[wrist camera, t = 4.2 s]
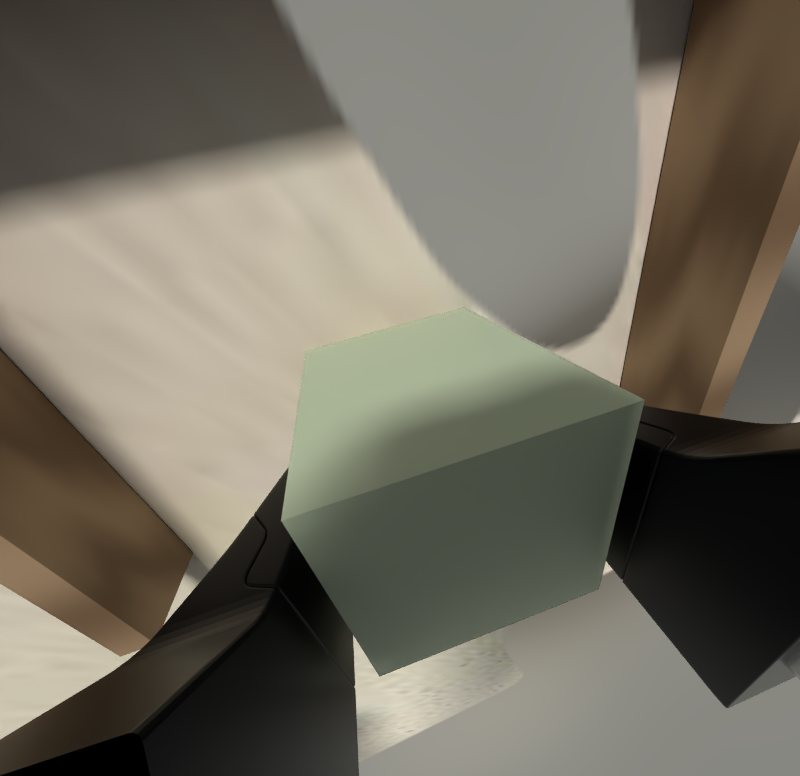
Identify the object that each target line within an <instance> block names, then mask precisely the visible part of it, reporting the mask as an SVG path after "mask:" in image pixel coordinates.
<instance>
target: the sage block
mask: <svg viewBox="0 0 800 776" xmlns="http://www.w3.org/2000/svg"><path fill="white" fill-rule="evenodd" d="M644 401H645V400H644V399H642V398H640V397H638V396H636V395H634V394H633V393H631V392H629V391H627V390H625V389H623V388H621V387H619V386H617V385H615V384H613V383H611V382H609V381H607V380H605V379H603V378H601V377H599V376H597V375H595V374H594V373H592V372H590V371H588V370H586V369H584V368H582V367H580V366H578V365H576V364H574V363H572V362H570V361H568V360H566V359H564V358H562V357H560V356H558V355H556V354H555V353H553V352H551V351H549V350H547V349H545V348H543V347H541V346H539V345H537V344H535V343H533V342H531V341H529V340H527V339H525V338H523V337H521V336H519V335H517V334H515V333H514V332H512V331H510V330H508V329H506V328H504V327H502V326H500V325H498V324H496V323H494V322H492V321H490V320H488V319H486V318H484V317H482V316H480V315H478V314H476V313H475V312H473V311H471V310H469V309H467V308H465V307H463V308H459V309H455V310H452V311H448V312H445V313H441V314H437V315H434V316H430V317H427V318H423V319H419V320H416V321H412V322H409V323H405V324H401V325H398V326H394V327H390V328H387V329H383V330H380V331H376V332H372V333H369V334H365V335H362V336H358V337H354V338H351V339H347V340H343V341H340V342H336V343H333V344H329V345H325V346H322V347H318V348H315V349H311V350H307V351H306V353H305V360H304V367H303V374H302V381H301V388H300V394H299V401H298V408H297V415H296V422H295V429H294V435H293V442H292V449H291V456H290V463H289V470H288V476H287V483H286V490H285V497H284V504H283V511H282V517H281V521H282V523H283V524H284V526H285V528H286V529H287V531H288V532H289V534H290V536H291V537H292V539H293V540H294V542H295V543H296V545H297V547H298V548H299V550H300V551H301V553H302V555H303V556H304V558H305V559H306V561H307V562H308V564H309V566H310V567H311V569H312V570H313V572H314V574H315V575H316V577H317V578H318V580H319V581H320V583H321V585H322V586H323V588H324V589H325V591H326V593H327V594H328V596H329V597H330V599H331V600H332V602H333V604H334V605H335V607H336V608H337V610H338V611H339V613H340V615H341V616H342V618H343V619H344V621H345V623H346V624H347V626H348V627H349V629H350V630H351V632H352V634H353V635H354V637H355V638H356V640H357V642H358V643H359V645H360V646H361V648H362V649H363V651H364V653H365V654H366V656H367V657H368V659H369V661H370V662H371V664H372V665H373V667H374V668H375V670H376V672H377V673H378V675H379V676H382V675H385V674H387V673H390V672H392V671H395V670H397V669H400V668H402V667H405V666H407V665H410V664H412V663H415V662H417V661H420V660H422V659H425V658H427V657H430V656H432V655H435V654H437V653H440V652H442V651H445V650H447V649H450V648H452V647H455V646H457V645H460V644H462V643H465V642H467V641H470V640H472V639H475V638H477V637H480V636H482V635H485V634H487V633H490V632H492V631H495V630H497V629H500V628H502V627H505V626H508V625H510V624H513V623H515V622H518V621H520V620H523V619H525V618H528V617H530V616H532V615H535V614H538V613H540V612H543V611H545V610H547V609H550V608H553V607H555V606H558V605H560V604H563V603H565V602H568V601H570V600H573V599H575V598H578V597H580V596H583V595H585V594H588V593H590V592H593V591H595V590H598V589H599V587H600V582H601V578H602V574H603V570H604V566H605V562H606V558H607V554H608V549H609V545H610V541H611V537H612V533H613V529H614V525H615V521H616V516H617V512H618V508H619V504H620V500H621V496H622V492H623V488H624V483H625V479H626V475H627V471H628V467H629V463H630V459H631V455H632V450H633V446H634V442H635V438H636V434H637V430H638V426H639V422H640V417H641V413H642V409H643V405H644Z"/></svg>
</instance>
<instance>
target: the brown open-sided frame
mask: <svg viewBox="0 0 800 776" xmlns="http://www.w3.org/2000/svg"><path fill="white" fill-rule="evenodd" d="M799 225H800V0H695V1H694V7H693V12H692V17H691V22H690V27H689V33H688V38H687V43H686V48H685V53H684V58H683V64H682V69H681V74H680V79H679V84H678V90H677V95H676V100H675V105H674V110H673V116H672V121H671V126H670V131H669V136H668V141H667V147H666V152H665V157H664V162H663V167H662V173H661V178H660V183H659V188H658V193H657V199H656V204H655V209H654V214H653V219H652V224H651V230H650V235H649V240H648V245H647V250H646V256H645V261H644V266H643V271H642V276H641V282H640V287H639V292H638V297H637V302H636V307H635V313H634V318H633V323H632V328H631V333H630V339H629V344H628V349H627V354H626V359H625V365H624V370H623V375H622V380H621V385H620V387H621V388H623V389H625V390H627V391H629V392H631V393H633V394H634V395H636V396H638V397H640V398H642V399H644V400H645V401H644V405H645V406H650V407H656V408H662V409H668V410H674V411H680V412H686V413H692V414H698V415H705V416H711V417H717V418H720V416H721V414H722V412H723V409H724V407H725V404H726V402H727V400H728V397H729V395H730V392H731V390H732V387H733V385H734V383H735V380H736V378H737V375H738V373H739V370H740V368H741V366H742V363H743V361H744V358H745V356H746V353H747V351H748V348H749V346H750V344H751V341H752V339H753V336H754V334H755V332H756V329H757V327H758V324H759V322H760V319H761V317H762V315H763V312H764V310H765V307H766V305H767V302H768V300H769V297H770V295H771V293H772V290H773V288H774V285H775V283H776V281H777V278H778V276H779V273H780V271H781V268H782V266H783V264H784V261H785V258H786V256H787V254H788V251H789V249H790V247H791V244H792V242H793V239H794V237H795V234H796V232H797V230H798V227H799ZM191 556H192V552H191V551H190V550H189V549H188V548H187V547H186V545H185V544H184V543H183V542H182V541H181V540H180V539H179V538H178V537H177V536H176V535H175V534H174V533H173V532H172V531H171V530H170V529H169V528H168V526H167V525H166V524H165V523H164V522H163V521H162V520H161V519H160V518H159V517H158V516H157V515H156V514H155V513H154V512H153V511H152V510H151V509H150V507H149V506H148V505H147V504H146V503H145V502H144V501H143V500H142V499H141V498H140V497H139V496H138V495H137V494H136V493H135V492H134V491H133V490H132V489H131V487H130V486H129V485H128V484H127V483H126V482H125V481H124V480H123V479H122V478H121V477H120V476H119V475H118V474H117V473H116V472H115V471H114V470H113V468H112V467H111V466H110V465H109V464H108V463H107V462H106V461H105V460H104V459H103V458H102V457H101V456H100V455H99V454H98V453H97V452H96V451H95V449H94V448H93V447H92V446H91V445H90V444H89V443H88V442H87V441H86V440H85V439H84V438H83V437H82V436H81V435H80V434H79V433H78V432H77V430H76V429H75V428H74V427H73V426H72V425H71V424H70V423H69V422H68V421H67V420H66V419H65V418H64V417H63V416H62V415H61V414H60V413H59V411H58V410H57V409H56V408H55V407H54V406H53V405H52V404H51V403H50V402H49V401H48V400H47V399H46V398H45V397H44V396H43V395H42V394H41V392H40V391H39V390H38V389H37V388H36V387H35V386H34V385H33V384H32V383H31V382H30V381H29V380H28V379H27V378H26V377H25V376H24V375H23V374H22V372H21V371H20V370H19V369H18V368H17V367H16V366H15V365H14V364H13V363H12V362H11V361H10V360H9V359H8V358H7V357H6V356H5V355H4V353H3V352H2V351H1V350H0V584H2V585H3V586H5V587H7V588H8V589H10V590H12V591H13V592H15V593H17V594H18V595H20V596H22V597H23V598H25V599H26V600H28V601H30V602H31V603H33V604H35V605H36V606H38V607H40V608H41V609H43V610H45V611H46V612H48V613H50V614H51V615H53V616H55V617H56V618H58V619H59V620H61V621H63V622H64V623H66V624H68V625H69V626H71V627H73V628H74V629H76V630H78V631H79V632H81V633H83V634H84V635H86V636H87V637H89V638H91V639H92V640H94V641H96V642H97V643H99V644H101V645H102V646H104V647H106V648H107V649H109V650H111V651H112V652H114V653H115V654H117V655H119V656H123V655H126V654H129V653H132V652H134V651H137V650H140V649H142V648H143V647H144V646H145V645H146V644H147V643H148V642H149V641H150V640H151V639H152V638H153V637H154V636H155V634H156V633H157V632H158V631H159V630H160V629H161V628H162V627H163V624H164V622H165V619H166V617H167V615H168V612H169V610H170V607H171V605H172V602H173V600H174V597H175V595H176V593H177V590H178V588H179V585H180V583H181V580H182V578H183V575H184V573H185V571H186V568H187V566H188V563H189V561H190V558H191Z"/></svg>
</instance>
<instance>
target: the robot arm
mask: <svg viewBox="0 0 800 776" xmlns="http://www.w3.org/2000/svg"><path fill="white" fill-rule="evenodd" d="M288 470H289V467H288V468H287V470H286V471H285V473H284V474H283V475H282V477H281V478H280V479H279V481H278V482H277V484H276V485H275V486H274V488H273V489H272V490H271V492H270V493H269V494H268V496H267V497H266V499H265V500H264V501H263V503H262V504H261V505H260V507H259V508H258V510H257V511H256V512H255V514H254V516H253V517H252V518H251V519H250V520H249V522H248V523H247V524H246V526H245V527H244V529H243V530H242V531H241V532H240V534H239V535H238V536H237V538H236V539H235V540H234V542H233V543H232V544H231V546H230V547H229V548H228V549H227V551H226V552H225V553H224V554H223V555H222V557H221V558H220V559H219V560H218V562H217V563H216V564H215V565H214V566H213V568H212V569H211V570H210V571H209V572H208V574H207V575H206V576H205V577H204V578H203V579H202V581H201V582H200V583H199V584H198V585H197V587H196V588H195V589H194V590H193V591H192V592H191V594H190V595H189V596H188V597H187V598H186V599H185V601H184V602H183V603H182V604H181V605H180V607H179V608H178V609H177V610H176V611H175V612H174V614H173V615H172V616H171V617H170V618H169V619H168V621H167V622H166V623H165V624H164V625H163V627H162V628H161V629H160V630H159V631H158V632H157V633H156V634H155V636H154V637H153V638H152V639H151V640H150V641H149V642H148V643H147V644H146V645H145V646H144V647H143V648H142V649H141V650H140V651H138V652H137V653H136V654H135V655H134V656H132V657H131V658H130V659H129V660H128V661H126V662H125V663H124V664H122V665H121V666H120V667H118V668H117V669H115V670H114V671H112V672H111V673H109V674H108V675H106V676H105V677H103V678H101V679H100V680H98V681H96V682H95V683H93V684H91V685H90V686H88V687H87V688H85V689H83V690H82V691H80V692H78V693H77V694H75V695H73V696H72V697H70V698H68V699H67V700H65V701H63V702H62V703H60V704H58V705H57V706H55V707H53V708H52V709H50V710H49V711H47V712H45V713H44V714H42V715H40V716H39V717H37V718H35V719H34V720H32V721H30V722H29V723H27V724H25V725H24V726H22V727H20V728H19V729H17V730H15V731H14V732H12V733H10V734H9V735H7V736H6V737H4V738H2V739H1V740H0V776H359V769H358V744H357V719H356V694H355V688H354V686H355V673H354V649H353V634H352V632H351V630H350V629H349V627H348V626H347V624H346V623H345V621H344V619H343V618H342V616H341V615H340V613H339V611H338V610H337V608H336V607H335V605H334V604H333V602H332V600H331V599H330V597H329V596H328V594H327V593H326V591H325V589H324V588H323V586H322V585H321V583H320V581H319V580H318V578H317V577H316V575H315V574H314V572H313V570H312V569H311V567H310V566H309V564H308V562H307V561H306V559H305V558H304V556H303V555H302V553H301V551H300V550H299V548H298V547H297V545H296V543H295V542H294V540H293V539H292V537H291V536H290V534H289V532H288V531H287V529H286V528H285V526H284V524H283V523H282V521H281V517H282V511H283V504H284V497H285V490H286V483H287V476H288ZM606 561H607V563H608V564H609V565H610V566H611V568H612V569H613V570H614V571H615V572H616V574H617V575H618V576H619V577H620V578H621V579H623V583H624V584H625V585H626V586H627V588H628V589H629V590H630V591H631V593H632V594H633V595H634V596H635V598H636V599H637V600H638V601H639V603H640V604H641V605H642V606H643V607H644V609H645V610H646V611H647V612H648V614H649V615H650V616H651V617H652V619H653V620H654V621H655V622H656V623H657V625H658V626H659V627H660V628H661V630H662V631H663V632H664V633H665V635H666V636H667V637H668V638H669V640H670V641H671V642H672V643H673V644H674V646H675V647H676V648H677V649H678V651H679V652H680V653H681V654H682V656H683V657H684V658H685V659H686V660H687V662H688V663H689V664H690V665H691V667H692V668H693V669H694V670H695V672H696V673H697V674H698V675H699V677H700V678H701V679H702V680H703V682H704V683H705V684H706V685H707V686H708V688H709V689H710V690H711V691H712V693H713V694H714V695H715V696H716V697H717V699H718V700H719V701H720V702H721V703H722V704H723V705H724V706H725V707H726V708H730V707H732V706H734V705H736V704H738V703H740V702H742V701H745V700H746V699H749V698H751V697H753V696H755V695H757V694H760V693H761V692H764V691H766V690H768V689H770V688H772V687H774V686H777V685H779V684H781V683H783V682H785V681H787V680H790V679H792V678H794V677H796V676H797V677H798V678H799V679H800V422H798V423H787V424H760V423H750V422H742V421H736V420H730V419H724V418H717V417H711V416H705V415H698V414H692V413H686V412H680V411H674V410H668V409H662V408H656V407H650V406H645V405H643V409H642V413H641V417H640V422H639V426H638V430H637V434H636V438H635V442H634V446H633V450H632V455H631V459H630V463H629V467H628V471H627V475H626V479H625V483H624V488H623V492H622V496H621V500H620V504H619V508H618V512H617V516H616V521H615V525H614V529H613V533H612V537H611V541H610V545H609V549H608V554H607V558H606Z"/></svg>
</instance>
